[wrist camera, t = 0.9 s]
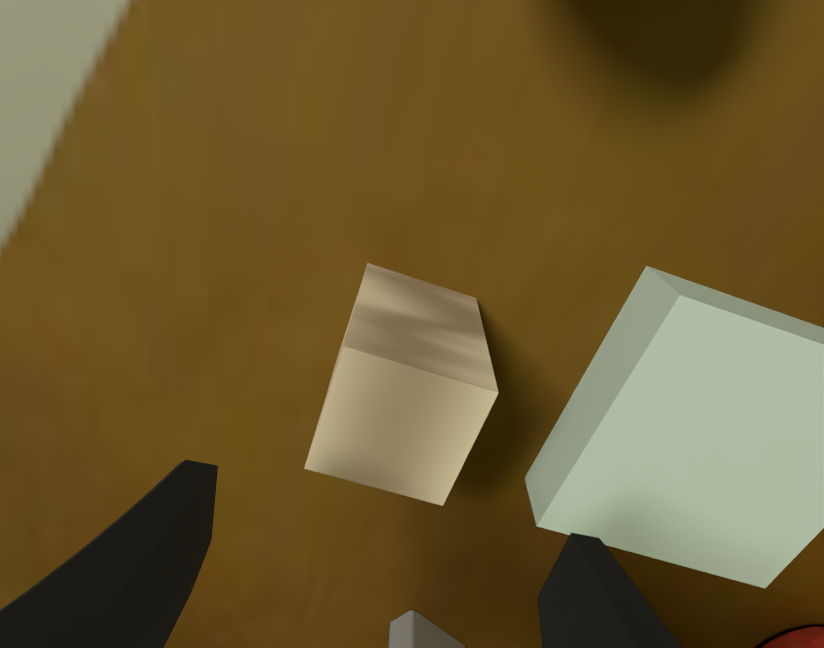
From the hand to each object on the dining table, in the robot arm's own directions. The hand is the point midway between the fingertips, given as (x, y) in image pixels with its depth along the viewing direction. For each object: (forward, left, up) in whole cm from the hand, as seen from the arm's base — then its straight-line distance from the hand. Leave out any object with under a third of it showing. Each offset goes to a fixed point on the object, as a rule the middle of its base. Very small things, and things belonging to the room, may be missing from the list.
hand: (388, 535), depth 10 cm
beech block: (0, 0, -9) cm, 9 cm away
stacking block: (-12, 0, -10) cm, 15 cm away
